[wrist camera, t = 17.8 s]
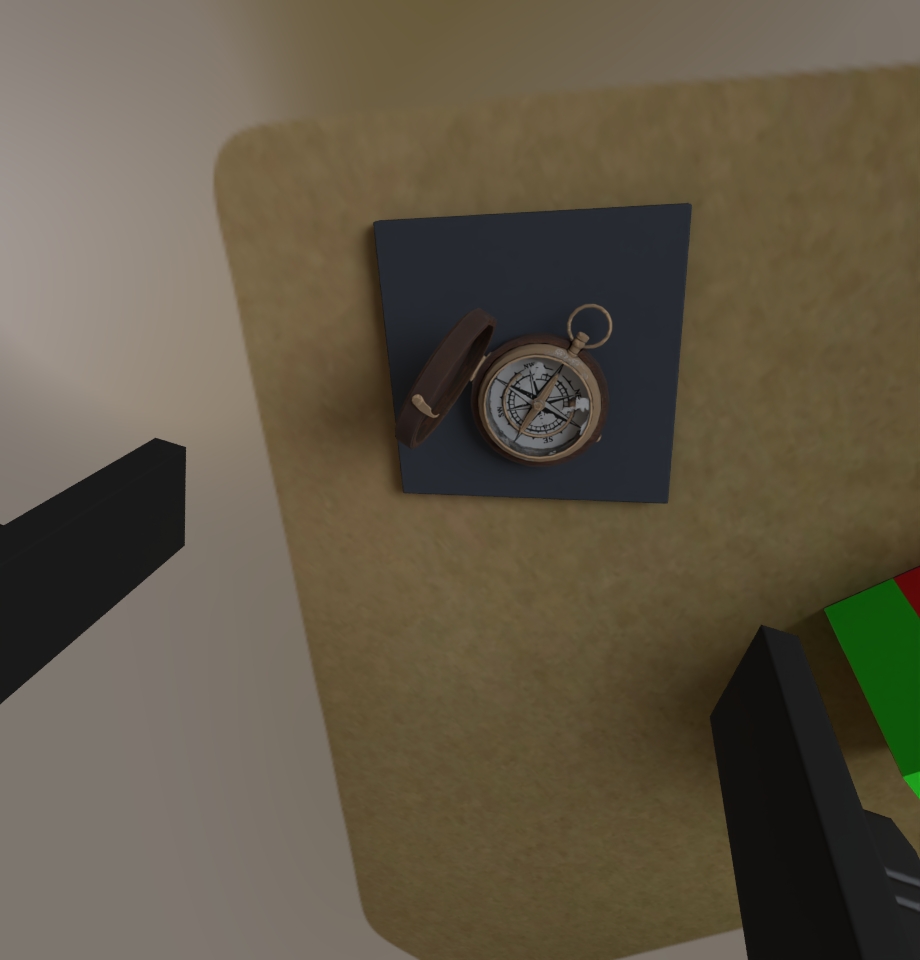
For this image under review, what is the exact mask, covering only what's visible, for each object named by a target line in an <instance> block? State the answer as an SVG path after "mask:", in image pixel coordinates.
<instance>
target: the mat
mask: <svg viewBox="0 0 920 960" xmlns="http://www.w3.org/2000/svg"><path fill="white" fill-rule="evenodd" d="M691 210H692V205H691V204H689V203H682V204H664V205H646V206H629V207H611V208H593V209H575V210H557V211H539V212H521V213H504V214H486V215H468V216H450V217H432V218H414V219H397V220H379V221H375V222H374V223H373V225H374V234H375V243H376V252H377V260H378V269H379V278H380V287H381V296H382V305H383V314H384V323H385V332H386V341H387V350H388V359H389V368H390V377H391V386H392V395H393V404H394V413H395V422H396V421H397V419H398V416H399V413H400V410H401V408H402V406H403V404H404V402H405V400H406V398H407V396H408V394H409V391H410V390H411V388H412V386H413V384H414V383H415V381H416V379H417V377H418V376H419V374H420V372H421V371H422V369H423V368H424V366H425V365H426V363H427V361H428V360H429V358H430V357H431V355H432V354H433V352H434V351H435V350H436V348H437V347H438V346H439V344H440V343H441V341H442V340H443V339H444V337H445V336H446V335H447V334H448V332H449V331H450V330H451V329H452V328H453V327H454V325H455V324H456V323H457V322H458V321H459V320H460V319H461V318H462V317H463V316H465V315H466V314H467V313H468V312H470V311H472V310H475V309H477V308H481V309H482V310H484V311H485V312H487V313H488V314H490V315H491V316H493V317H495V318H496V319H497V324H496V328H495V331H494V334H493V337H492V339H491V342H490V344H489V346H488V348H487V350H486V352H485V354H484V356H485V357H487V356H488V354H489V353H490V352H492V351H493V350H494V349H496V348H497V347H499V346H500V345H502V344H503V343H505V342H506V341H507V340H509V339H512V338H515V337H518V336H521V335H524V334H527V333H551V334H555V335H559V336H562V337H566V338H569V339H570V337H569V335H568V332H567V322H568V320H569V317H570V315H571V314H572V313H573V312H574V310H575V309H576V308H578V307H580V306H583V305H585V304H596V305H598V306H601V307H603V308H604V309H605V310H606V311H607V312H608V313H609V315H610V317H611V319H612V332H611V334H610V336H609V339H608V340H607V341H606V342H605V343H604V344H603V345H601V346H598V347H596V348H590V349H586V350H587V351H588V352H589V353H590V354H591V355H592V356H593V358H594V359H595V360H596V361H597V362H598V363H599V365H600V367H601V369H602V371H603V374H604V376H605V378H606V380H607V385H608V392H609V409H608V415H607V420H606V424H605V426H604V428H603V430H602V432H601V438H600V440H599V441H598V442H595V443H594V444H593V445H592V446H591V447H590V448H589V449H588V450H587V451H586V452H585V453H584V454H582V455H580V456H578V457H576V458H575V459H573V460H571V461H569V462H568V463H563V464H559V465H555V466H551V467H530V466H527V465H523V464H520V463H516V462H513V461H511V460H509V459H507V458H506V457H504V456H502V455H501V454H499V453H497V452H496V451H495V450H494V449H493V448H492V447H491V446H490V445H489V444H488V443H487V442H486V441H485V440H484V439H483V437H482V435H481V433H480V431H479V430H478V428H477V426H476V424H475V422H474V417H473V413H472V408H471V394H472V385H473V384H472V382H473V380H469V382H468V383H467V385H466V387H465V388H464V390H463V391H462V393H461V394H460V396H459V397H458V399H457V400H456V402H455V403H454V405H453V406H452V407H451V409H450V410H449V412H448V413H447V414H446V416H445V417H444V418H443V420H442V421H441V422H440V424H439V425H438V426H437V427H436V429H435V430H434V431H433V432H432V433H431V434H430V436H429V437H428V438H427V439H426V440H425V441H424V442H423V443H422V444H420V445H419V446H418V447H417V448H415V449H410V448H409V447H407V446H406V445H404V444H403V443H401V442H400V441H398V448H399V457H400V466H401V475H402V484H403V492H404V493H418V494H443V495H469V496H494V497H519V498H544V499H569V500H594V501H620V502H645V503H668V494H669V482H670V470H671V457H672V445H673V433H674V420H675V408H676V396H677V383H678V371H679V359H680V346H681V334H682V322H683V309H684V297H685V285H686V272H687V260H688V247H689V235H690V223H691ZM608 330H609V322H608V319H607V317H606V315H605V314H604V313H603V312H602V311H601V310H598V309H596V308H585V309H582V310H580V311H578V312H577V313H576V315H575V316H574V317H573V319H572V321H571V333H572V335H573V337H574V338H576V337H577V336H576V335H577V334H578V332H583V333H585V334H586V335H587V336H588V337H589V340H588V341H587V342H585V345H594V344H597V343H599V342H601V341H602V340H603V339H604V338H605V337H606V335H607V332H608ZM473 379H474V378H473Z"/></svg>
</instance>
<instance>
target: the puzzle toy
mask: <svg viewBox="0 0 920 960" xmlns="http://www.w3.org/2000/svg"><path fill="white" fill-rule="evenodd" d="M824 610H825V613H826V615H827V617H828V619H829V621H830V623H831V625H832V628H833V630H834V632H835V634H836V636H837V638H838V640H839V642H840V645H841V647H842V649H843V651H844V653H845V655H846V657H847V659H848V662H849V664H850V666H851V668H852V670H853V672H854V674H855V677H856V679H857V681H858V683H859V685H860V687H861V689H862V691H863V694H864V696H865V698H866V700H867V702H868V704H869V706H870V709H871V711H872V713H873V715H874V717H875V719H876V721H877V723H878V726H879V728H880V730H881V732H882V734H883V736H884V738H885V741H886V743H887V745H888V747H889V749H890V751H891V753H892V755H893V758H894V760H895V762H896V764H897V766H898V768H899V770H900V772H901V775H902V777H903V778H904V779H905V781H906V782H907V783H908V785H909V786H910V787H911V789H912V790H913V791H914V792H915V794H916V795H917V796H918V798H919V799H920V566H919V567H917V568H915V569H913V570H910V571H908V572H906V573H904V574H901V575H899V576H897V577H894V578H892V579H890V580H888V581H885V582H883V583H881V584H879V585H876V586H874V587H872V588H870V589H867V590H865V591H863V592H861V593H858V594H856V595H854V596H851V597H849V598H847V599H845V600H842V601H840V602H838V603H836V604H833V605H831V606H829V607H827V608H824Z"/></svg>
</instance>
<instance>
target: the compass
mask: <svg viewBox="0 0 920 960" xmlns="http://www.w3.org/2000/svg"><path fill="white" fill-rule="evenodd" d="M585 308H596V309H598V310H601V311H602V312H603V313H604V314H605V315H606V317H607V319H608V322H609V330H608V332H607V335H606V337H605V338H604V339H603V340H602V341H601V342H599V343H597V344H594V345H585V342H587V341H588V340H589V337H588V336H587V335H586V334H585V333H583V332H578V334H577V335H576V336H577V337H576V338H574V337H573V335H572V333H571V321H572V319H573V317H574V316H575V315H576V313H577V312H578V311H580V310H582V309H585ZM496 324H497V319H496V318H495V317H493V316H491V315H490V314H488V313H487V312H485V311H484V310H482V309H481V308H477V309H475V310H472V311H470V312H468V313H467V314H466V315H465V316H463V317H462V318H461V319H460V320H459V321H458V322H457V323H456V324H455V325H454V327H453V328H452V329H451V330H450V331H449V332H448V334H447V335H446V336H445V337H444V339H443V340H442V341H441V343H440V344H439V346H438V347H437V348H436V350H435V351H434V352H433V354H432V355H431V357H430V358H429V360H428V361H427V363H426V365H425V366H424V368H423V369H422V371H421V372H420V374H419V376H418V377H417V379H416V381H415V383H414V384H413V386H412V388H411V390H410V391H409V394H408V396H407V398H406V400H405V402H404V404H403V406H402V408H401V410H400V413H399V416H398V419H397V421H396V427H395V433H396V434H395V437H396V439H397V440H398V441H400V442H401V443H403V444H404V445H406V446H407V447H409V448H410V449H415V448H417V447H418V446H419V445H420V444H422V443H423V442H424V441H425V440H426V439H427V438H428V437H429V436H430V434H431V433H432V432H433V431H434V430H435V429H436V427H437V426H438V425H439V424H440V422H441V421H442V420H443V418H444V417H445V416H446V414H447V413H448V412H449V410H450V409H451V407H452V406H453V405H454V403H455V402H456V400H457V399H458V397H459V396H460V394H461V393H462V391H463V390H464V388H465V387H466V385H467V383H468V382H469V380H473V382H472V384H473V385H472V394H471V408H472V413H473V417H474V422H475V424H476V426H477V428H478V430H479V431H480V433H481V435H482V437H483V439H484V440H485V441H486V442H487V443H488V444H489V445H490V446H491V447H492V448H493V449H494V450H495V451H496V452H497V453H499V454H501V455H502V456H504V457H506V458H507V459H509V460H511V461H513V462H516V463H520V464H523V465H527V466H530V467H551V466H555V465H559V464H563V463H568V462H569V461H571V460H573V459H575V458H576V457H578V456H580V455H582V454H584V453H585V452H586V451H587V450H588V449H589V448H590V447H591V446H592V445H593V444H594V443H595V442H598V441H599V440H600V438H601V432H602V430H603V428H604V426H605V424H606V420H607V415H608V409H609V392H608V385H607V380H606V378H605V376H604V374H603V371H602V369H601V367H600V365H599V363H598V362H597V361H596V360H595V359H594V358H593V356H592V355H591V354H590V353H589V352H588V351H587V350H586V349H590V348H596V347H598V346H601V345H603V344H604V343H605V342H606V341H607V340H608V339H609V336H610V334H611V332H612V319H611V317H610V315H609V313H608V312H607V311H606V310H605V309H604V308H603V307H601V306H598V305H596V304H585V305H583V306H580V307H578V308H576V309H575V310H574V312H573V313H572V314H571V315H570V317H569V320H568V322H567V332H568V335H569V337H570V339H569V338H566V337H562V336H559V335H555V334H551V333H527V334H524V335H521V336H518V337H515V338H512V339H509V340H507V341H506V342H505V343H503V344H502V345H500V346H499V347H497V348H496V349H494V350H493V351H492V352H490V353H489V354H488V356H487V357H485V356H484V354H485V352H486V350H487V348H488V346H489V344H490V342H491V339H492V337H493V334H494V331H495V328H496ZM473 378H474V379H473Z"/></svg>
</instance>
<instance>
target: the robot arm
mask: <svg viewBox="0 0 920 960" xmlns="http://www.w3.org/2000/svg"><path fill="white" fill-rule="evenodd" d="M185 473H186V447H184V446H180V445H177V444H174V443H171V442H167V441H164V440H161V439H158V438H154V439H153V440H151V441H149V442H148V443H146V444H144V445H142V446H141V447H139V448H137V449H135V450H134V451H132V452H130V453H128V454H127V455H125V456H123V457H122V458H120V459H118V460H116V461H115V462H113V463H111V464H109V465H108V466H106V467H104V468H102V469H101V470H99V471H97V472H95V473H94V474H92V475H90V476H89V477H87V478H85V479H84V480H82V481H80V482H78V483H76V484H75V485H73V486H71V487H70V488H68V489H66V490H64V491H63V492H61V493H59V494H58V495H56V496H54V497H52V498H50V499H49V500H47V501H45V502H44V503H42V504H40V505H38V506H37V507H35V508H33V509H31V510H30V511H28V512H26V513H24V514H23V515H21V516H19V517H18V518H16V519H14V520H12V521H11V522H9V523H7V524H6V525H1V524H0V704H1V703H2V702H3V701H4V700H5V699H7V698H8V697H9V696H10V695H11V694H12V693H14V692H15V691H16V690H17V689H18V688H20V687H21V686H22V685H23V684H24V683H25V682H26V681H28V680H29V679H30V678H31V677H32V676H33V675H35V674H36V673H37V672H38V671H39V670H41V669H42V668H43V667H44V666H45V665H46V664H47V663H49V662H50V661H51V660H52V659H53V658H54V657H56V656H57V655H58V654H59V653H60V652H61V651H62V650H64V649H65V648H66V647H67V646H68V645H70V644H71V643H72V642H73V641H74V640H75V639H77V638H78V637H79V636H80V635H81V634H82V633H83V632H85V631H86V630H87V629H88V628H89V627H90V626H92V625H93V624H94V623H95V622H96V621H97V620H98V619H100V618H101V617H102V616H103V615H104V614H106V613H107V612H108V611H109V610H110V609H111V608H113V607H114V606H115V605H116V604H117V603H118V602H119V601H120V600H122V599H123V598H124V597H125V596H126V595H128V594H129V593H130V592H131V591H132V590H133V589H135V588H136V587H137V586H138V585H139V584H140V583H142V582H143V581H144V580H145V579H146V578H147V577H148V576H150V575H151V574H152V573H153V572H154V571H155V570H157V569H158V568H159V567H160V566H161V565H162V564H164V563H165V562H166V561H167V560H168V559H169V558H170V557H172V556H173V555H174V554H175V553H176V552H178V551H179V550H180V549H181V548H182V547H183V546H184V545H185V475H186V474H185ZM710 721H711V728H712V734H713V740H714V747H715V753H716V759H717V766H718V772H719V778H720V785H721V791H722V797H723V804H724V810H725V816H726V823H727V829H728V836H729V842H730V848H731V855H732V861H733V867H734V874H735V880H736V886H737V893H738V899H739V905H740V912H741V918H742V925H743V931H744V937H745V944H746V950H747V956H748V960H920V860H919V857H918V855H917V853H916V851H915V850H914V848H913V847H912V846H911V844H910V843H909V842H908V840H907V839H906V838H905V836H904V835H903V834H902V832H901V831H900V830H899V828H898V827H897V826H896V825H895V823H894V822H893V821H892V819H891V818H888V817H885V816H882V815H879V814H876V813H873V812H870V811H867V810H864V809H863V808H862V806H861V803H860V800H859V798H858V795H857V792H856V789H855V787H854V784H853V781H852V779H851V776H850V773H849V771H848V768H847V765H846V763H845V760H844V757H843V755H842V752H841V749H840V747H839V744H838V741H837V739H836V736H835V733H834V731H833V728H832V725H831V723H830V720H829V717H828V714H827V712H826V709H825V706H824V704H823V701H822V698H821V696H820V693H819V690H818V688H817V685H816V682H815V680H814V677H813V674H812V672H811V669H810V666H809V664H808V661H807V658H806V656H805V653H804V650H803V647H802V645H801V642H800V639H799V637H798V636H796V635H793V634H789V633H786V632H783V631H780V630H776V629H773V628H770V627H767V626H763V625H761V626H760V628H759V630H758V631H757V633H756V635H755V637H754V639H753V640H752V642H751V644H750V646H749V647H748V649H747V651H746V653H745V655H744V656H743V658H742V660H741V662H740V664H739V665H738V667H737V669H736V671H735V672H734V674H733V676H732V678H731V680H730V681H729V683H728V685H727V687H726V689H725V690H724V692H723V694H722V696H721V697H720V699H719V701H718V703H717V705H716V706H715V708H714V710H713V712H712V714H711V715H710Z"/></svg>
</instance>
